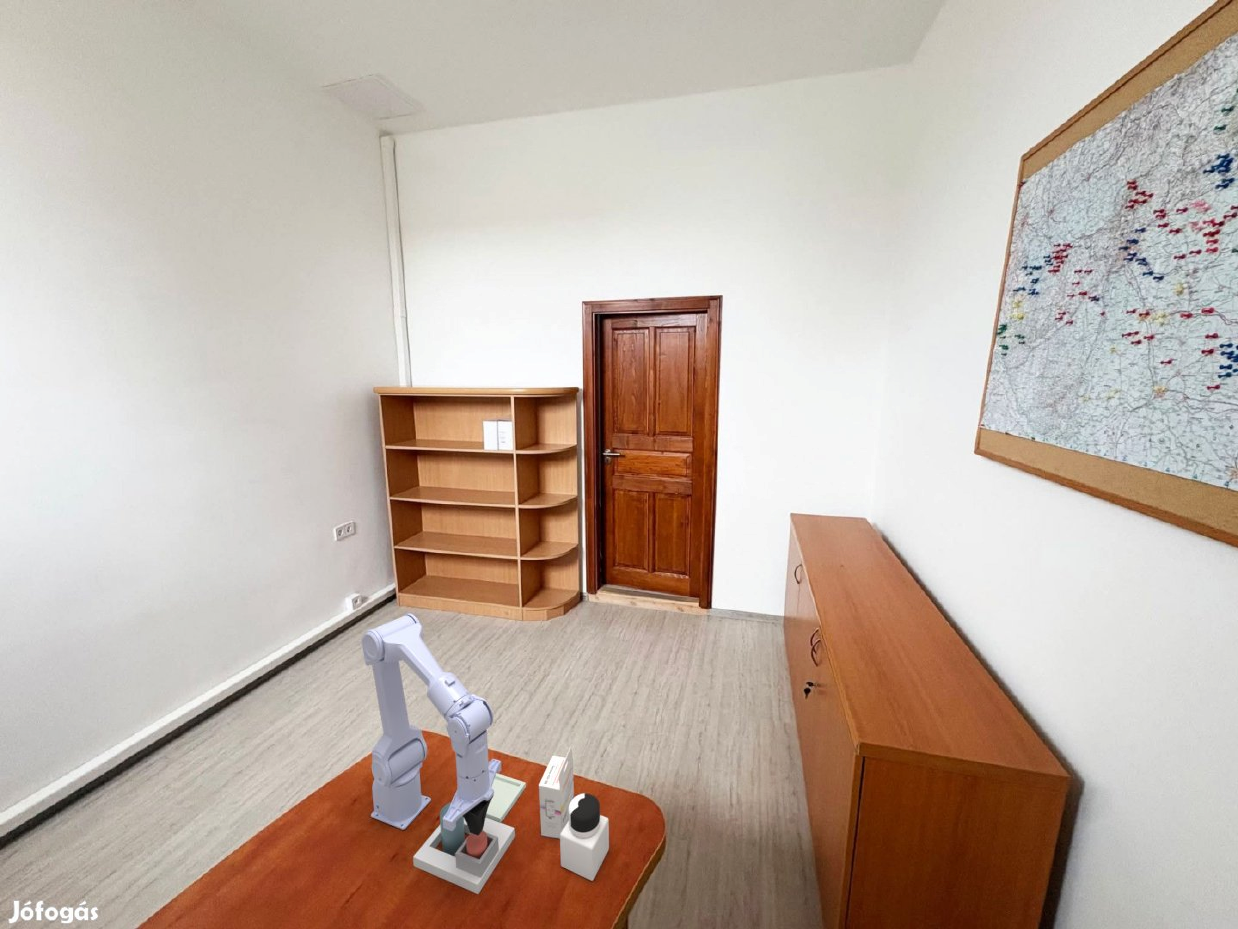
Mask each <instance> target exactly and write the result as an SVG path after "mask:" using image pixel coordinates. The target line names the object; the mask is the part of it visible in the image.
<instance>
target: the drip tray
mask: <svg viewBox="0 0 1238 929" xmlns="http://www.w3.org/2000/svg"><path fill="white" fill-rule="evenodd" d="M491 788H492V789H494V796H493V798H492V800H491V802H490V804H489V807H488V810H487V813H486V818H488V819H491V820H494V821H496V822H499V823H502V824H503V821H504V820H505V819H506V817H507V816H508V814H509V812H510V811H511V809H513V807H514V805H516V803H517V801H518V799H519V798H520V797H521V795H522V794H523V792H524V791H525V789H526V788H527V783H526V782H524V781H522V780H519V779H515V778H513V777H510V776H506V775H504V774H500V773H496V776H495V778H494V781H493V784H492V787H491Z"/></svg>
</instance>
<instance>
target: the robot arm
mask: <svg viewBox="0 0 1238 929" xmlns="http://www.w3.org/2000/svg"><path fill="white" fill-rule="evenodd" d="M361 646H362V652H363V658H364V662H365V666H367V667H368V666H371V667H372V672H373V673H372V674H373V680H374V685H375V692H376V697H377V701H378V702H377V703H378V709H379V713H380V714H379V715H380V720H381V726H382V732H383V733H382V735H381V737H380V738H379V739H378V741H377V743H376V744H375V745H374V747H373V748H372V750H371V753H372V754H371V755H372V761H371V771H372V776H373V778H374V780H373V783H372V799H373V811H372V813H371V814H370V817H371V818H373V819H376V820H378V821H380V822H383V823H385V824H387V825H391V826H393V827H394V828H397V829H400V830H406V829H407V828H408V827H409V825H411V823H413V821H414V820H415V819H416V818H417V817H418V816H419V814H420V813H421V812H422V811H423V810H424V809H425V808H426V807H427V805H428V804H429V803H430V802H431V801H432V800H431V797H428V796H426V795H423V794H422V788H421V786H422V785H421V774H420V771H421V770H420V769H421V768H423V761H424V760H426V758H427V756H428V744H427V743H426V741H425V739H424V736H423V732H422V730H421V729H420V728H419V727H418V726H416V725H413V724H410V722H409V716H408V709H407V704H406V703H407V702H406V698H405V690H404V685H403V679H402V672H401V667H400V662H401V661H403V663H405V665H407V666H408V667H409V669H411V670H412V671H413V673H415V674H416V676H418V677H419V679H420V680H421V681H422V682H424V684H425V685H426V686H427V692H426V696H427V698H428V700H429V701H430V702H431V703H432V704H433V706H434V708H436V709H437V711H438V712H439V713H440V715H441V716H442V717H443V719H444V720H445V721H446V722H447V724H446V725H445V726H446V732H447V735H448V737H449V739H450V742H451V748H452V750H453V752H454V753H455V766H456V784H457V787H456V788H457V789H456V790H455V793H454V796H453V798H452V801H451V805H450V807H449V809H448V811H447V813H446V815H445V816H444V817H443V828H445V829H447V830H450V831H453V830H454V829H455V827H456V821H457V820H458V819H459V818H460V817H461V816H463V817H464V819H465V821H466V823H467V825H468V828H469V831H470V833H473V834H475V835H479V834H480V833H481V832H482V830H483V827H484V822H485V818H486V813H487V810H488V807H489V804H490V802H491V800H492V798H493V796H494V789H492V788H491V787H492V784H493V781H494V778H495V776H496V773H498V774H500V772H501V771H502V761H501V760H499V759H495V758H492V759H491V760H490V761H489V748H488V746H489V745H488V743H489V742H488V729H490V728H489V727H491V726H492V725H493V723H494V714H493V710H492V708H491V706H490V704H489V703H488V702H487V700H486V699H485V698H484V697H481V696H477V695H476V693H472V694H471V693H470V691H469V690H468V689H467V688H466V687H465V685H463V684H462V683H461V681H460V679H458V677H457V676H456V675H455V673H453V672H449V671H448V672H446V671H445V672H444V670H443V668H442V667H441V665H440V664H439V663H438V661H437V660H436V658H435V657H434V655H433V654H432V652H431V651H430V649H429V648H428V647H427V645H426V643H425V642H424V628H423V626H422V624H421V622H420V621H419V619H418V618H417V616H415V615H414V614H413V613H406V614H404V615H403V616H401V617H397V618H396V619H393V620H391V621H388V622H386V623H384V624H381V625H379V626H377V627H375V628H372V629H368V630H366V631H365V633H364V634H363V635H362V636H361Z"/></svg>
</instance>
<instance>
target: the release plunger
mask: <svg viewBox="0 0 1238 929" xmlns="http://www.w3.org/2000/svg"><path fill="white" fill-rule="evenodd" d="M467 837H468V838H467ZM467 837H466V839H467V840H466V839H465V840H466V846H467V855H469V856H471V857H474V858H476V859H480V858H481V857H482V855H483V854H484V852H485V851H486V849H487V848H488V845H487V834H486V832H484V831H482V832H481V833H480V834H479V835H475V834H473V833H471V834H468V836H467Z"/></svg>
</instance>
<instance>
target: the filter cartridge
mask: <svg viewBox="0 0 1238 929" xmlns="http://www.w3.org/2000/svg"><path fill="white" fill-rule="evenodd" d="M451 802H452V801H451ZM451 802H448V803H447V804H445V805H443V807H441V810H440V812H439V820H440V824H441V839H442V840H441V851H442V852H444V853H447V854H449V855H451V856H454V857H455V853H456V852H457V851H458V849H459V848H460V847H461V845H462V844H463V843H464V841H465V840H466V835H465V834H466V833H465V830H464V817H463V816H461V817H460V818H459V819H458V820H457V821H456V827H455V829H454V830H453V831H450V830H447V829H445V828H443V817H444V816H445V815H446V813H447V811H448V809H449V807H450V805H451ZM440 824H439V825H440Z"/></svg>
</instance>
